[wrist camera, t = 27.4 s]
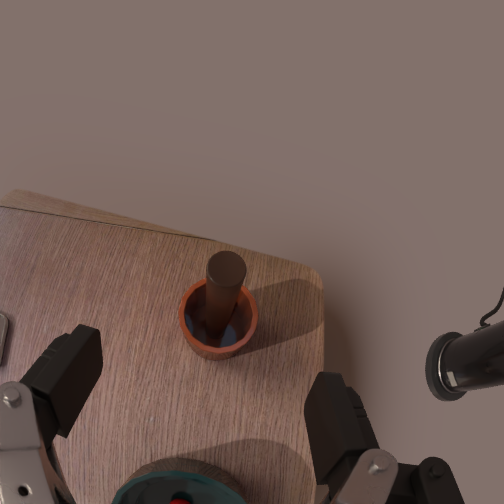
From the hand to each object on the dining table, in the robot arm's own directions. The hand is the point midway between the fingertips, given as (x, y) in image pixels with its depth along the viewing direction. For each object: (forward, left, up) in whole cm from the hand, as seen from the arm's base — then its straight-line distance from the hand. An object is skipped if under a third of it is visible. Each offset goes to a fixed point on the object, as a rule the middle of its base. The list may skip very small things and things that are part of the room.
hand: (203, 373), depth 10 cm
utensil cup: (-2, -6, -23) cm, 24 cm away
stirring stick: (-2, -6, -22) cm, 23 cm away
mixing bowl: (+6, +15, -23) cm, 28 cm away
